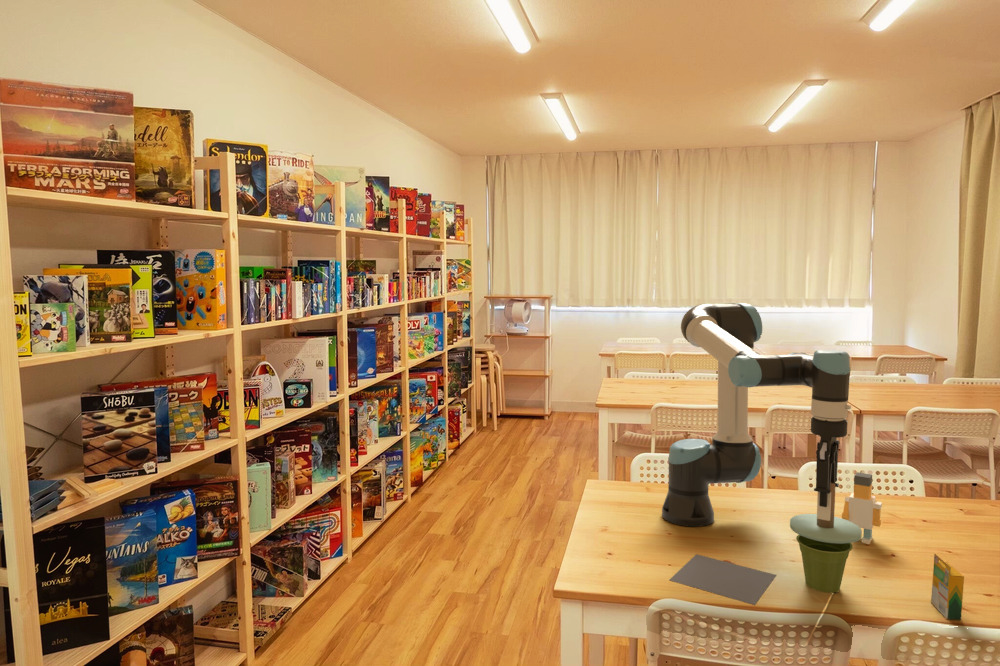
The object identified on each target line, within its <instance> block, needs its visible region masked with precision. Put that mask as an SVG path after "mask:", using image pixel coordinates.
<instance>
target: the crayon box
mask: <svg viewBox="0 0 1000 666" xmlns="http://www.w3.org/2000/svg"><path fill="white" fill-rule="evenodd" d="M933 554H934V556H933V569H932V571H933V572H932V583H931V584H932V585H931V586H932V587H931V597H930V604H932V605H933V606H934V608H936V609H937V611H939V612H940V614H942V616H943V617H944V618H945V619H946V620H954V621H955V620H956V621H961V620H962V608H963V600H964V599H963V598H964V597H963V596H964V586H965V585H964V581H965V576H964V575H962V573H960V572H959V570H957V569H955V567H953V566H952V565H951V564H950V563H949V562H948V561H947V562H946V561H944V560H943V559H942V558H941V557H940V556H938V555H937V553H933Z"/></svg>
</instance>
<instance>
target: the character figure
mask: <svg viewBox="0 0 1000 666" xmlns="http://www.w3.org/2000/svg"><path fill="white" fill-rule="evenodd" d="M853 476H854V477H853V478H854V479H853V492H851V493H850V495H849V496H845V497H844V505H843V512H842V514H841V518H842V519H845V520H848V521H850V522H852V523H854V524H856V525H858V526H859V527H860V528H861V529H863V534H862V535H863V536H862V537H861V543H862V544H867V545H869V544H871V542H872V540H873V535H872V534H873V528H874V527H879V528H880V527H881V525H882V519H881V513H882V511H881V509H882V507H883V502H882V501H876V496H875V495H872V493H873V492H872V489H873V474H871V473H864V472H859V471H858V472H855V474H854V475H853Z"/></svg>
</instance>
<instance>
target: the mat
mask: <svg viewBox="0 0 1000 666" xmlns="http://www.w3.org/2000/svg"><path fill="white" fill-rule="evenodd" d="M776 577H777V574H776V573H775V574H774V573H771V572H766V571H762V570H759V569H755V568H751V567H747V566H743V565H740V564H736V563H731V562H729V561H723V560H721V559H716V558H713V557H709V556H705V555H700V554H698V553H697V554H695V555H694V556H693V557H692V558H690V560H688V561H687V563H685V565H683V566H682V567H681V568H680V569H679V570H677V572H676V573H675V574H674V575H673V576H672V577H671V578H670V579H669V581H670V582H673V583H677V584H681V585H685V586H688V587H691V588H695V589H698V590H701V591H705V592H708V593H712V594H715V595H718V596H721V597H725V598H728V599H733V600H735V601H739V602H742V603H746V604H749V605H754V606H756V604H757V603H758V602H759V600H760V598H761V597H762V596H763V595H764V594H765V592H766V590H767V589H768V587H769V586H770V585H771V584H772V582H773V580H774V579H775V578H776Z"/></svg>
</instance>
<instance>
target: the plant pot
mask: <svg viewBox="0 0 1000 666" xmlns="http://www.w3.org/2000/svg"><path fill="white" fill-rule="evenodd" d="M795 539H796V542H797V543H798V545H799V550H800V552H801V559H802V565H803V573H804V581H805V584H806V586H807V587H809V588H810V589H813V590H814V591H818V592H822V593H831V594H833V593H838V592H840V590H841V589H840V588H841V585H842V582H843V576H844V573H845V569H846V568H845V567H846V564H847V560H848V558H849V554H850V552H851V551H852V550H853V549H854V547H853V546H854V545H853V543H844V544H837V543H827V542H821V541H816V540H812V539H809V538H806V537H803V536H801V535H799V534H797V535H796V538H795Z"/></svg>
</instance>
